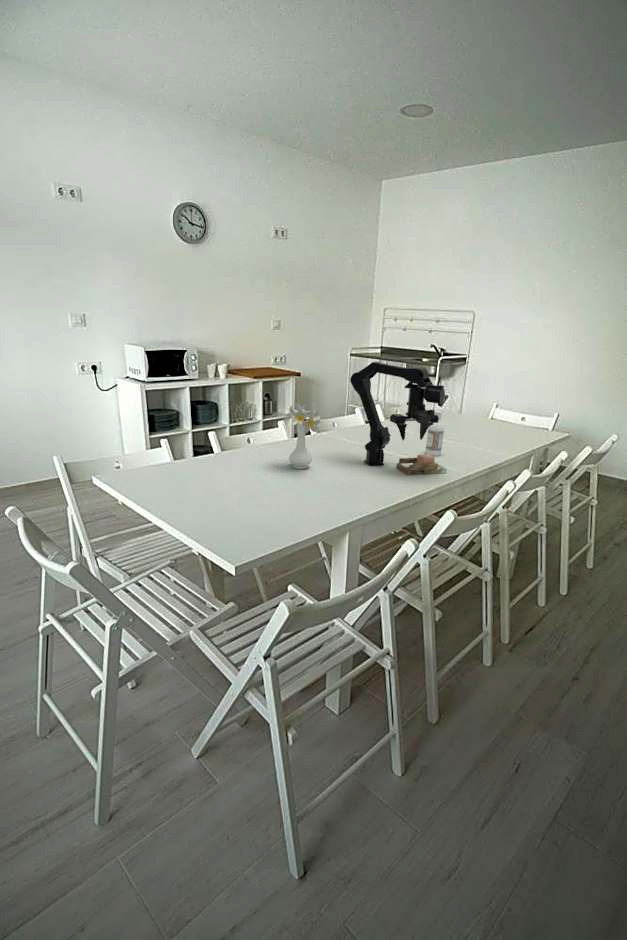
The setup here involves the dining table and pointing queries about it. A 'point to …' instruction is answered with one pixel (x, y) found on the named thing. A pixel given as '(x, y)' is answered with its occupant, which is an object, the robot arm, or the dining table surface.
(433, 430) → the bath foam
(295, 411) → the flower vase
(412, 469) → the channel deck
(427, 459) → the block
